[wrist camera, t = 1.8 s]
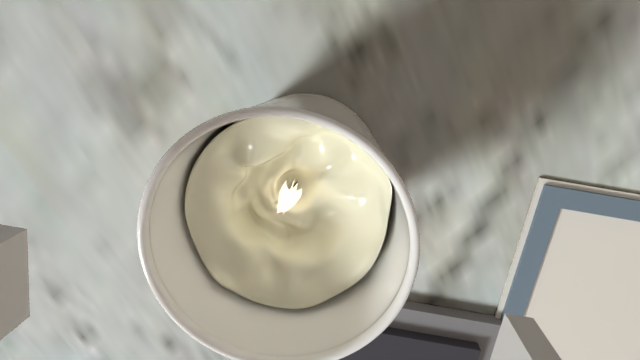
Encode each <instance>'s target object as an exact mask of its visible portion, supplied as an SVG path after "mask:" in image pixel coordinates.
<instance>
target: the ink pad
mask: <svg viewBox="0 0 640 360" xmlns="http://www.w3.org/2000/svg"><path fill="white" fill-rule="evenodd" d="M501 324H502V321H501V319H499V318H496V317H495V316H492V315H486V314H480V313H474V312H469V311H463V310H457V309H451V308H446V307H440V306H434V305H428V304H423V303H417V302H411V301H406V302H405V304H404V306H403V307H402V309H401V311H400V312H399V314H398V315H397V316H396V318H395V319H394V320H393V321H392V323H391V324H390V325H389V326H388V327H387V328H386V329H385V330H384V331H383V332H382V333H381V334H380V335H379V336H378V337H376V338H375V339H374V340H373V341H371V342H370V343H369V344H367V345H366V346H364V347H363V348H361V349H360V350H358V351H356V352H354V353H352V354H350V355H348V356H346V357H344V358H341V359H339V360H490V358H491V355H492V352H493V349H494V346H495V342H496V339H497V336H498V333H499V330H500V327H501Z"/></svg>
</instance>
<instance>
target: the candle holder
mask: <svg viewBox="0 0 640 360" xmlns="http://www.w3.org/2000/svg"><path fill="white" fill-rule="evenodd" d="M137 244H138V251H139V256H140V261H141V265H142V268H143V271H144V274H145V277H146V279H147V281H148V284H149V286H150V288H151V290H152V292H153V293H154V295H155V297H156V298H157V300H158V302H159V303H160V305H161V306H162V307H163V309H164V310H165V311H166V313H167V314H168V315H169V316H170V317H171V318H172V320H173V321H174V322H175V323H176V324H177V325H178V326H179V327H180V328H181V329H183V330H184V331H185V332H186V333H187V334H188V335H190V336H191V337H192V338H194V339H195V340H196V341H198V342H199V343H201V344H202V345H204V346H205V347H207V348H209V349H211V350H212V351H214V352H216V353H218V354H220V355H223V356H225V357H227V358H230V359H232V360H339V359H341V358H344V357H346V356H348V355H350V354H352V353H354V352H356V351H358V350H360V349H361V348H363V347H364V346H366V345H367V344H369V343H370V342H371V341H373V340H374V339H375V338H376V337H378V336H379V335H380V334H381V333H382V332H383V331H384V330H385V329H386V328H387V327H388V326H389V325H390V324H391V323H392V321H393V320H394V319H395V318H396V316H397V315H398V314H399V312H400V311H401V309H402V307H403V306H404V304H405V302H406V300H407V298H408V296H409V294H410V292H411V290H412V287H413V284H414V281H415V278H416V274H417V270H418V264H419V257H420V233H419V225H418V220H417V215H416V211H415V208H414V205H413V202H412V199H411V197H410V194H409V192H408V190H407V188H406V186H405V184H404V182H403V180H402V178H401V177H400V175H399V174H398V172H397V171H396V169H395V168H394V166H393V165H392V164H391V163H390V161H389V160H388V159H387V158H386V156H385V155H384V153H383V151H382V150H381V148H380V146H379V145H378V143H377V141H376V140H375V138H374V136H373V135H372V133H371V131H370V130H369V128H368V127H367V126H366V124H365V123H364V122H363V120H362V119H361V118H360V117H359V116H358V115H357V114H356V113H355V112H354V111H353V110H351V109H350V108H349V107H347V106H346V105H344V104H343V103H341V102H339V101H337V100H335V99H333V98H330V97H327V96H323V95H319V94H311V93H299V94H291V95H286V96H283V97H279V98H276V99H273V100H270V101H267V102H264V103H261V104H258V105H256V106H253V107H250V108H244V109H239V110H235V111H231V112H228V113H225V114H222V115H219V116H217V117H214V118H212V119H210V120H208V121H206V122H204V123H202V124H200V125H199V126H197V127H195V128H194V129H192V130H191V131H189V132H188V133H187V134H185V135H184V136H183V137H181V138H180V139H179V140H178V141H177V142H176V143H175V144H174V145H173V146H172V147H171V148H170V149H169V150H168V151H167V152H166V153H165V154H164V156H163V157H162V158H161V160H160V161H159V162H158V164H157V165H156V167H155V168H154V170H153V172H152V174H151V175H150V177H149V179H148V182H147V184H146V186H145V189H144V191H143V194H142V198H141V201H140V206H139V211H138V218H137Z"/></svg>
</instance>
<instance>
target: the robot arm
mask: <svg viewBox="0 0 640 360" xmlns="http://www.w3.org/2000/svg"><path fill="white" fill-rule="evenodd" d="M29 316H30V307H29V276H28V246H27V229H24V228H18V227H12V226H6V225H1V224H0V340H1V339H3V338H4V337H5V336H6V335H7V334H9V333H10V332H11V331H12V330H13V329H15V328H16V327H17V326H18V325H19V324H21V323H22V322H23V321H24V320H25V319H27V318H28V317H29ZM490 360H562V359H561V358H560V356H559V355H558V354H557V352H556V351H555V349H554V348H553V346H552V345H551V343H550V342H549V340H548V339H547V337H546V336H545V334H544V333H543V332H542V330H541V329H540V327H539V326H538V324H537V323H536V321H535V320H534V318H530V317H524V316H518V315H513V314H507V313H505V314H504V317H503V321H502V324H501V327H500V330H499V333H498V336H497V339H496V342H495V346H494V349H493V352H492V355H491V358H490Z"/></svg>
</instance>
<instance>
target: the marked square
mask: <svg viewBox="0 0 640 360" xmlns="http://www.w3.org/2000/svg"><path fill="white" fill-rule="evenodd" d="M505 313H507V314H513V315H518V316H524V317H530V318H534V320H535V321H536V323H537V324H538V326H539V327H540V329H541V330H542V332H543V333H544V334H545V336H546V337H547V339H548V340H549V342H550V343H551V345H552V346H553V348H554V349H555V351H556V352H557V354H558V355H559V356H560V358H561V359H562V360H640V194H635V193H629V192H623V191H617V190H611V189H606V188H600V187H594V186H588V185H582V184H576V183H570V182H564V181H558V180H552V179H547V178H541V177H539V179H538V182H537V185H536V188H535V192H534V195H533V198H532V201H531V204H530V207H529V210H528V214H527V217H526V220H525V223H524V226H523V229H522V232H521V235H520V239H519V242H518V245H517V248H516V251H515V254H514V257H513V261H512V264H511V267H510V270H509V273H508V276H507V279H506V282H505V286H504V289H503V292H502V295H501V298H500V301H499V304H498V307H497V311H496V314H495V317H496V318H499V319H501V321H503V317H504V314H505Z"/></svg>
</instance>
